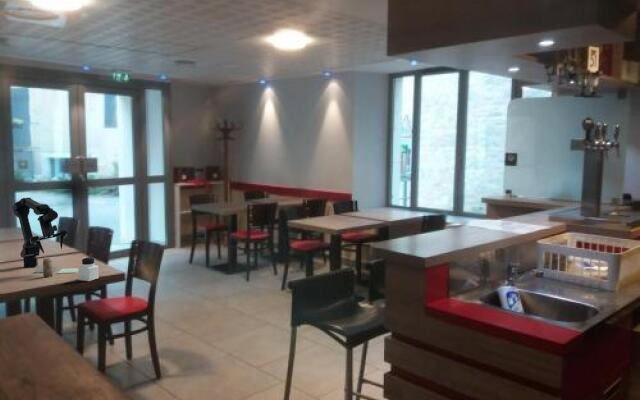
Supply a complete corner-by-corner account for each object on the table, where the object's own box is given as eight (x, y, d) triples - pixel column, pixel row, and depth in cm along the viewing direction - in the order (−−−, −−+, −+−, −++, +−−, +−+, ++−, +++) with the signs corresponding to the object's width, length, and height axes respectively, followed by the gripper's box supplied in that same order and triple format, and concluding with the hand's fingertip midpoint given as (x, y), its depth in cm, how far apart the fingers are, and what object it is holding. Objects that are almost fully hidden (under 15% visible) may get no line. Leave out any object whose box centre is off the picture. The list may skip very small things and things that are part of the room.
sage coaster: (57, 273, 283) (57, 272, 283) (62, 269, 293) (61, 268, 293) (76, 272, 286) (76, 271, 286) (80, 269, 296) (80, 268, 296)
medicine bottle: (98, 278, 274) (98, 256, 273) (89, 281, 268) (88, 259, 267) (88, 277, 277) (87, 255, 276) (78, 280, 270) (77, 258, 269)
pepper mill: (42, 277, 275) (41, 259, 274) (44, 275, 279) (43, 258, 278) (51, 277, 276) (50, 259, 275) (53, 275, 280) (52, 257, 279)
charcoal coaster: (33, 273, 285) (33, 272, 284) (38, 269, 294) (38, 268, 294) (52, 272, 287) (52, 271, 287) (57, 268, 297) (57, 267, 297)
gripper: (27, 225, 275) (34, 252, 272) (64, 217, 285) (71, 243, 283) (27, 230, 284) (34, 256, 282) (63, 223, 294) (70, 248, 292)
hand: (52, 251), depth 284 cm, fingers open, 9 cm apart
